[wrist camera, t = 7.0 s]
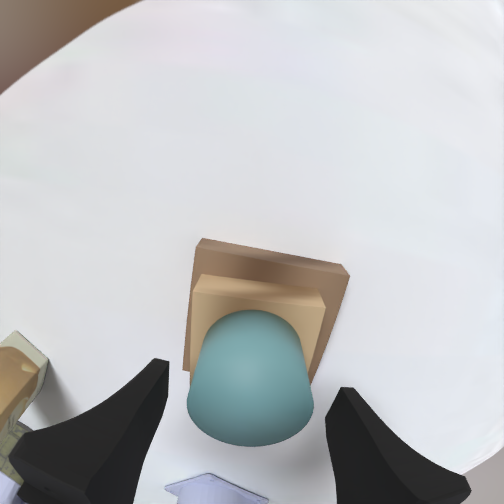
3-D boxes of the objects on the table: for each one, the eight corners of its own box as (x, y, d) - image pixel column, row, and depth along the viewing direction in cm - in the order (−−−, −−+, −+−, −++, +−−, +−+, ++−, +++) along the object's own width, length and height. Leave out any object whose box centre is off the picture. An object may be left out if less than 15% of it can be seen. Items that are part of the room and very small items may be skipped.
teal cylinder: (320, 354, 14) (337, 411, 10) (248, 400, 15) (246, 458, 11) (255, 289, 13) (255, 340, 9) (182, 347, 14) (162, 403, 10)
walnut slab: (338, 260, 17) (350, 275, 15) (304, 367, 20) (308, 389, 17) (204, 235, 17) (195, 247, 15) (189, 348, 19) (182, 370, 17)
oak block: (317, 288, 15) (325, 307, 13) (295, 376, 17) (298, 401, 15) (201, 273, 15) (192, 291, 13) (196, 365, 17) (189, 388, 15)
